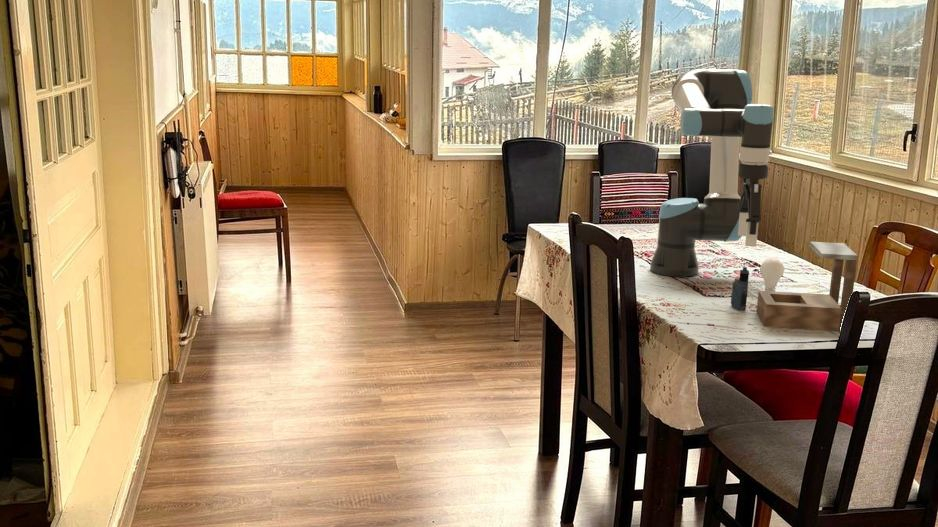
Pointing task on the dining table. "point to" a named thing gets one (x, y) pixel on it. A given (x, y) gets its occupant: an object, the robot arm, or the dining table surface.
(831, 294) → the socket station
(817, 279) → the dining table surface
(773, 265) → the light bulb
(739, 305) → the vaping device
